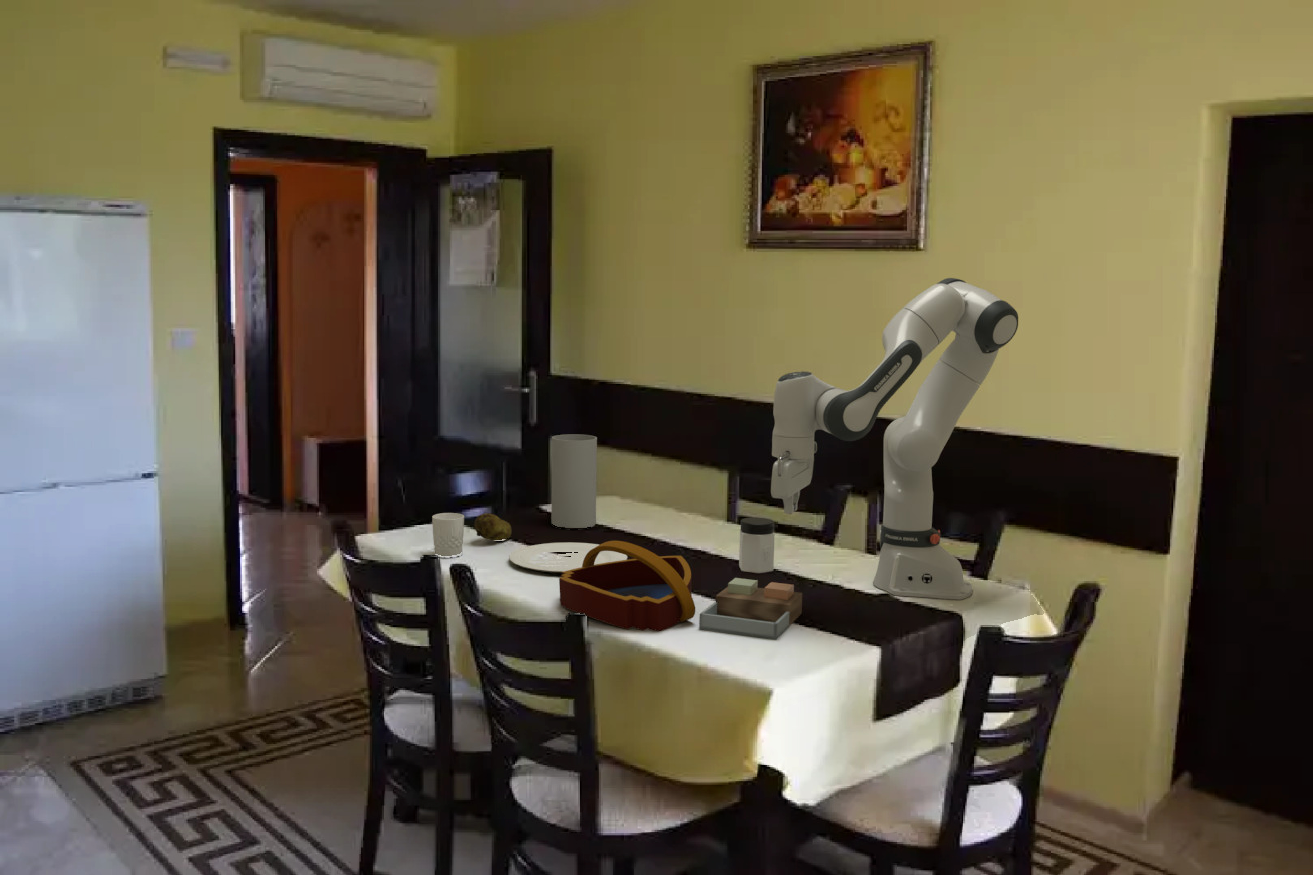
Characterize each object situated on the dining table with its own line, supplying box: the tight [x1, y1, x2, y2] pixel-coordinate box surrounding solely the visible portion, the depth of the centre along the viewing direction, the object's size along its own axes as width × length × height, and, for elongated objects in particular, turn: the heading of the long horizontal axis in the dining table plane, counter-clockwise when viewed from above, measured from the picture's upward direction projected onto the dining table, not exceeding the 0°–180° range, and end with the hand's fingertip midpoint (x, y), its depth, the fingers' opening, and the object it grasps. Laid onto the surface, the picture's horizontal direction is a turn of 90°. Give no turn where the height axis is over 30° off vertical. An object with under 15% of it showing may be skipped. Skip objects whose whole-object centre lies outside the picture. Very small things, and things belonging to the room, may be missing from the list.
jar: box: [738, 517, 775, 574], centre depth 288 cm, size 9×8×12 cm
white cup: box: [431, 512, 465, 556], centre depth 296 cm, size 8×8×10 cm
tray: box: [698, 601, 790, 641], centre depth 241 cm, size 16×9×3 cm, turn 68°
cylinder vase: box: [551, 433, 598, 529], centre depth 332 cm, size 12×12×25 cm
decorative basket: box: [558, 540, 696, 633], centre depth 253 cm, size 34×29×15 cm
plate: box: [508, 542, 629, 574], centre depth 292 cm, size 29×29×2 cm
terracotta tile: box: [763, 581, 795, 600], centre depth 249 cm, size 5×5×2 cm
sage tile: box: [727, 577, 759, 595], centre depth 252 cm, size 5×5×2 cm
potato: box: [474, 513, 512, 541], centre depth 312 cm, size 8×13×8 cm, turn 137°
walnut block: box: [715, 586, 803, 627], centre depth 250 cm, size 16×10×4 cm, turn 68°
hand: (790, 512), depth 254 cm, fingers closed
